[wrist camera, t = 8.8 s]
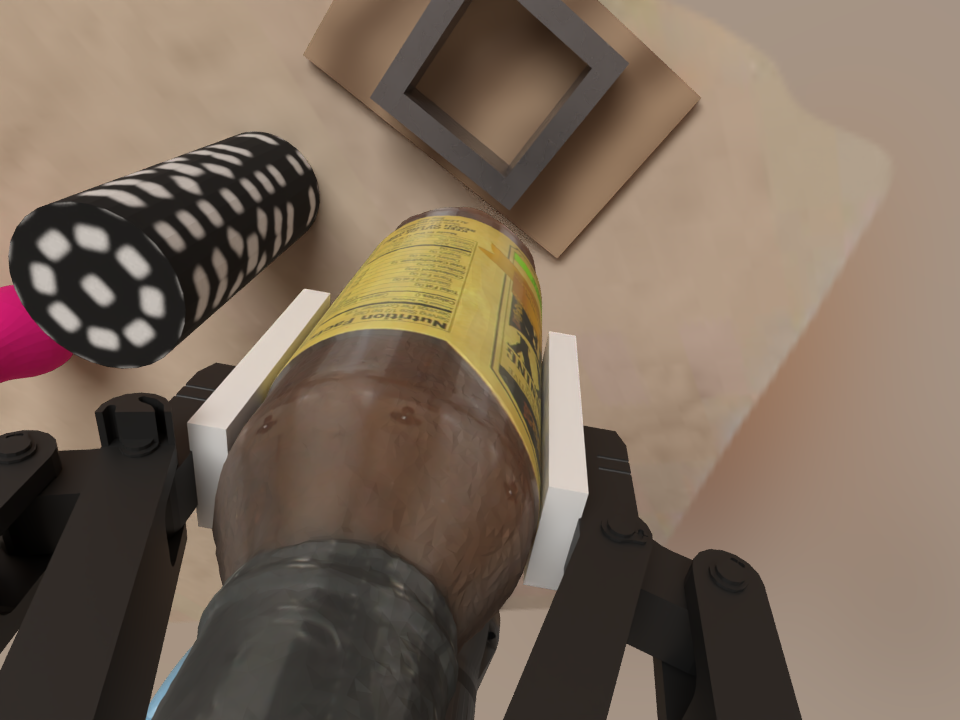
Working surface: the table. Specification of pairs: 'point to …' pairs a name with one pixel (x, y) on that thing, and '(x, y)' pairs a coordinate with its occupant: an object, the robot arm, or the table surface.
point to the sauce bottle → (379, 489)
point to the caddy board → (516, 97)
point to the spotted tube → (160, 247)
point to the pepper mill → (24, 342)
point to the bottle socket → (458, 142)
